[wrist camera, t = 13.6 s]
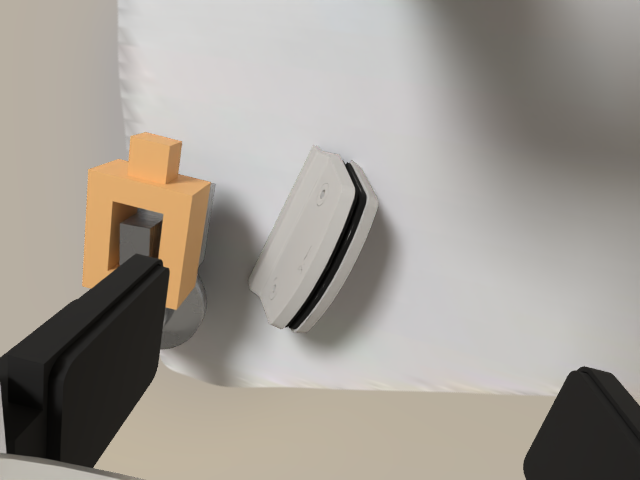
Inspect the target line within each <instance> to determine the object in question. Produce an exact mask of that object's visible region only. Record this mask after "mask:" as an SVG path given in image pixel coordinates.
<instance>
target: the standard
mask: <svg viewBox="0 0 640 480" xmlns="http://www.w3.org/2000/svg"><path fill="white" fill-rule="evenodd" d="M214 191H215V184H214V183H211V186H210V193H209V199H208V206H207V212H206V219H205V225H204V232H203V239H202V245H201V252H200V258H199V265H200V264H201V263H202V262H203V261H204V255H205V248H206V242H207V235H208V229H209V223H210V216H211V210H212V204H213V197H214ZM141 210H142V208H138V209H137V212H139V211H141ZM199 265H198V266H199ZM206 308H207V297H206V292H205V288H204V285H203V283H202V281H201V279H200V278H199V276H198V274H197V278H196V284H195V287H194V288H193V290H192V291H191V292H190V294H189V295H188V296H187V297H186V299H185V300H184V301H183V302H182V304H181V305H180V306H179V308H178V309H177V310H174V309H170V308H166V307H165V315H164V323H163V330H162V338H161V346H160V349H168V348H173V347H176V346H178V345H181V344H182V343H184V342H186V341H187V340H188V339H189V338H190V337H191V336H192V335H193V334H194V333H195V331H196V330H197V328H198V327H199V325H200V324H201V322H202V320H203V318H204V316H205V313H206Z"/></svg>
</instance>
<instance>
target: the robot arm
mask: <svg viewBox="0 0 640 480" xmlns="http://www.w3.org/2000/svg"><path fill="white" fill-rule="evenodd" d="M169 276H170V270H169V268H167V267H163V261H162V260H161V259H157V258H153V257H149V256H145V255H141V254H137V253H136V254H135V255H133V256H132V257H131V258H129V259H128V260H127V261H125V262H124V263H123V264H122V265H120V266H119V267H118V268H117V269H115V270H114V271H113V272H112V273H110V274H109V275H108V276H107V277H105V278H104V279H103V280H101V281H100V282H99V283H98V284H96V285H95V286H94V287H93V288H91V289H90V290H89V291H88V292H86V293H85V294H84V295H83V296H81V297H80V298H79V299H76V300H74V301H72V302H71V303H70V304H68V305H67V306H66V307H64V308H63V309H62V310H60V311H59V312H58V313H57V314H55V315H54V316H53V317H51V318H50V319H49V320H48V321H46V322H45V323H44V324H43V325H41V326H40V327H39V328H37V329H36V330H35V331H34V332H33V333H31V334H30V335H29V336H27V337H26V338H25V339H24V340H22V341H21V342H20V343H18V344H17V345H16V346H14V347H13V348H12V349H11V350H9V351H8V352H7V353H6V354H4V355H3V356H2V357H0V480H143V479H139V478H135V477H131V476H127V475H123V474H118V473H113V472H109V471H104V470H99V469H94V468H93V467H94V465H95V464H96V462H97V461H98V459H99V458H100V457H101V455H102V454H103V452H104V451H105V449H106V448H107V446H108V445H109V443H110V442H111V440H112V439H113V438H114V436H115V434H116V433H117V432H118V430H119V429H120V427H121V426H122V424H123V423H124V421H125V420H126V419H127V417H128V416H129V414H130V413H131V411H132V410H133V408H134V407H135V405H136V404H137V402H138V401H139V400H140V398H141V397H142V395H143V394H144V392H145V391H146V389H147V388H148V386H149V385H150V383H151V382H152V380H153V378H154V376H155V374H156V371H157V367H158V361H159V354H160V346H161V338H162V330H163V323H164V315H165V307H166V299H167V292H168V284H169ZM523 470H524V474H525V477H526V480H640V406H639V405H638V403H637V402H636V401H635V400H634V399H633V397H632V396H631V395H630V394H629V393H628V391H627V390H626V389H625V388H624V387H623V385H622V384H621V383H620V382H619V381H618V380H617V378H616V377H615V376H614V375H613V374H611V373H609V372H605V371H601V370H597V369H593V368H589V367H585V366H584V367H580V368H579V369H578V370H577V371H572V372H571V373H569V375H568V376H567V378H566V380H565V382H564V384H563V386H562V388H561V390H560V392H559V394H558V396H557V397H556V399H555V401H554V403H553V405H552V407H551V409H550V411H549V413H548V415H547V417H546V418H545V420H544V422H543V424H542V426H541V428H540V430H539V432H538V434H537V436H536V438H535V439H534V441H533V443H532V445H531V447H530V449H529V451H528V453H527V455H526V457H525V460H524V464H523Z"/></svg>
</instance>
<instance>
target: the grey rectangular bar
mask: <svg viewBox="0 0 640 480" xmlns="http://www.w3.org/2000/svg"><path fill="white" fill-rule="evenodd" d="M162 223H163V214H162V213H158V212H154V211H150V210H146V209H142V210H141V211H139V212H137V213H136V214H134V215H132V216H131V217H129V218H128V219H126V220H124V221H123V222H121V223H120V261H119V265H122V264H123V263H124V262H125V261H127V260H128V259H129V258H131V257H132V256H133V255H135V254H136V253H137V254H141V255H145V256H149V257H153V258H157V259H158V257H159V248H160V240H161V231H162Z"/></svg>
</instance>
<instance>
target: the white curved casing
mask: <svg viewBox="0 0 640 480" xmlns="http://www.w3.org/2000/svg"><path fill="white" fill-rule="evenodd" d="M377 209H378V199H377V197H376V195H375V193H374V191H373V189H372V187H371V186H370V184H369V182H368V180H367V178H366V176H365V174H364V172H363V170H362V168H361V167H360V166H359V165H357V164H356V163H355V162H353V161H352V160H351V162H350V163H348V162H347V164H346V165H345V164H344V162H343V160H342V159H341V157H340V155H338V154H333V153H329V152H325V151H321V149H320V148H319V147H318V146H315V145H313V146H312V148H311V151H310V153H309V155H308V157H307V159H306V161H305V163H304V165H303V167H302V169H301V171H300V173H299V175H298V177H297V179H296V182H295V184H294V186H293V188H292V190H291V192H290V194H289V196H288V198H287V200H286V202H285V204H284V206H283V208H282V210H281V213H280V215H279V217H278V219H277V221H276V223H275V225H274V227H273V229H272V231H271V233H270V235H269V237H268V239H267V241H266V244H265V246H264V248H263V250H262V252H261V254H260V256H259V258H258V260H257V262H256V264H255V266H254V268H253V270H252V272H251V275H250V277H249V279H248V283H249V288H250V290H251V291H253V292H254V293H255V294H256V295H258V296H259V297H260V299H261V302H262V305H263V308H264V310H265V313H266V316H267V319H268V322H269V324H271V325H273V326H275V327H277V328H280V329H283V328H284V327H288V326H289V328H291V330H292V331H293V332H302V333H306V332H308V331H309V330H310V329H311V328H312V327H313V326H314V325H315V324H316V322H317V321H318V320H319V319H320V318H321V317H322V315H323V314H324V313H325V311H326V310H327V309H328V307H329V306H330V305H331V303H332V302H333V300H334V299H335V297H336V296H337V294H338V292H339V291H340V289H341V288H342V286H343V284H344V283H345V281H346V279H347V277H348V275H349V274H350V272H351V270H352V268H353V266H354V264H355V262H356V260H357V258H358V256H359V254H360V252H361V249H362V247H363V245H364V243H365V240H366V238H367V236H368V233H369V231H370V228H371V225H372V223H373V220H374V217H375V214H376V212H377Z"/></svg>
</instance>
